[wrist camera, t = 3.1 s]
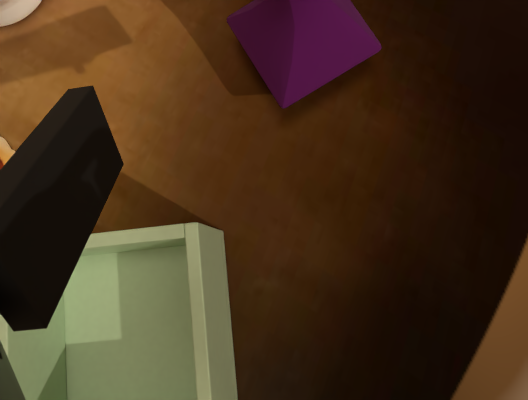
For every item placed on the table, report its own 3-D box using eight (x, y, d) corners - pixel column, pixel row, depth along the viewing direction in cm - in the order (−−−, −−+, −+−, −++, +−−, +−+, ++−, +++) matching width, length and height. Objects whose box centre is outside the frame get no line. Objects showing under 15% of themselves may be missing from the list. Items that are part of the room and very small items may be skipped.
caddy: (223, 230, 33) (197, 221, 26) (239, 413, 31) (216, 456, 24) (59, 248, 34) (-8, 244, 27) (65, 425, 32) (-5, 469, 25)
